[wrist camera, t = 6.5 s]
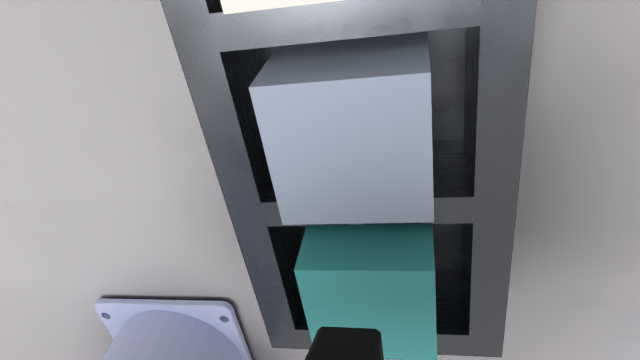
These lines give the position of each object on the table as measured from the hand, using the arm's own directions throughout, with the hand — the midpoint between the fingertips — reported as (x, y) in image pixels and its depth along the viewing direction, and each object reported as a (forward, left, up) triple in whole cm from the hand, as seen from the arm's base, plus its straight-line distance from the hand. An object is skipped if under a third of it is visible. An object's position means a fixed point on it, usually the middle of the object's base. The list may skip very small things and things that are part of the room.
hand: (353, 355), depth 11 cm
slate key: (+3, 0, -6) cm, 7 cm away
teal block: (-3, 0, -6) cm, 7 cm away
